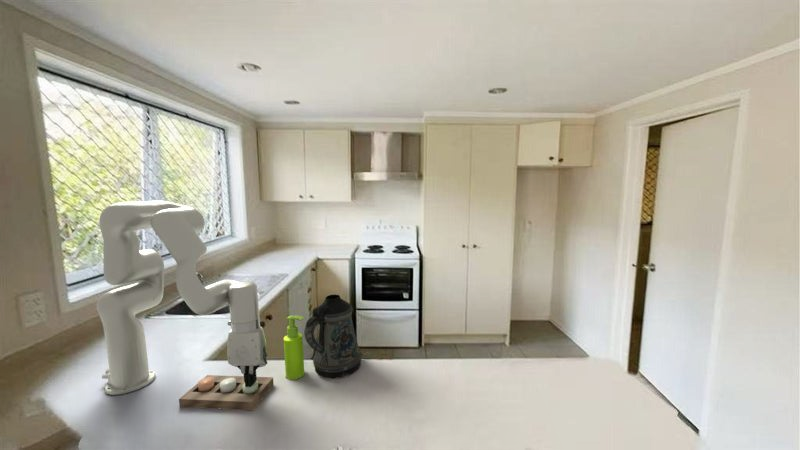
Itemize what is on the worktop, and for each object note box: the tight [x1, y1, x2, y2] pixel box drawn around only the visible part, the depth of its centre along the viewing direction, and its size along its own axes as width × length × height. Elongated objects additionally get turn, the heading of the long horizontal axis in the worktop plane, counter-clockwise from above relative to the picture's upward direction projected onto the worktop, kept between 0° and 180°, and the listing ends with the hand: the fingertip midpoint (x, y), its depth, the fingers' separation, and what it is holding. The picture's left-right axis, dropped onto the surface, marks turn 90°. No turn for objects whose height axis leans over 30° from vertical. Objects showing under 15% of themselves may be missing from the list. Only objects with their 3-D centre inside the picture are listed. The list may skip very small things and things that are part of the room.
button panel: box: [178, 374, 274, 411], centre depth 98 cm, size 22×12×2 cm, turn 85°
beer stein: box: [303, 294, 363, 380], centre depth 110 cm, size 16×19×25 cm
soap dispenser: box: [283, 315, 305, 380], centre depth 107 cm, size 6×7×20 cm
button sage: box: [242, 381, 258, 394], centre depth 97 cm, size 4×4×2 cm
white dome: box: [220, 378, 236, 393], centre depth 97 cm, size 4×4×2 cm
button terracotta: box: [197, 377, 215, 392], centre depth 98 cm, size 4×4×2 cm
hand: (250, 384), depth 97 cm, fingers closed
